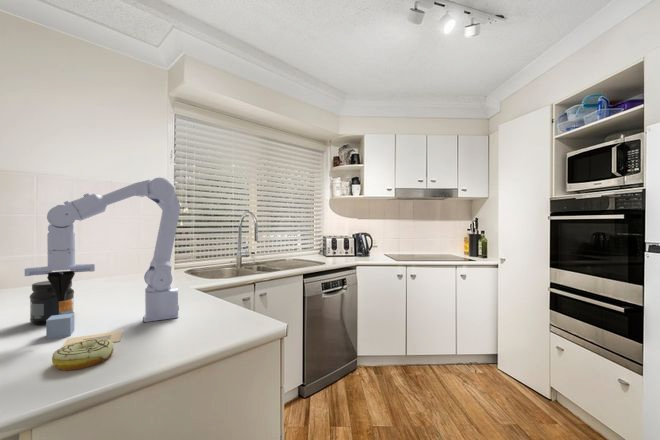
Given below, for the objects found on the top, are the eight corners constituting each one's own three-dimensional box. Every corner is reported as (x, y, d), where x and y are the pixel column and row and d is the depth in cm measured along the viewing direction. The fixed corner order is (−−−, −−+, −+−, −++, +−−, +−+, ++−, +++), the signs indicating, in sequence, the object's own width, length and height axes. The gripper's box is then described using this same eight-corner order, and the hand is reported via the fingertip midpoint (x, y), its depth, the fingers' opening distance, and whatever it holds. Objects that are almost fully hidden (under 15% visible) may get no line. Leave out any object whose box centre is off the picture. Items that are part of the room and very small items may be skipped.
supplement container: (82, 315, 105) (82, 279, 105) (51, 326, 95) (51, 285, 95) (53, 315, 106) (53, 279, 107) (19, 325, 96) (19, 285, 96)
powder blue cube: (74, 330, 91) (74, 313, 91) (70, 336, 87) (70, 317, 87) (51, 333, 89) (51, 315, 89) (46, 339, 84) (46, 320, 84)
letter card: (122, 331, 90) (122, 330, 90) (119, 341, 82) (119, 340, 82) (67, 339, 84) (67, 338, 84) (59, 351, 76) (59, 350, 76)
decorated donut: (119, 361, 71) (118, 344, 71) (55, 378, 63) (55, 359, 63) (108, 348, 78) (108, 332, 78) (49, 362, 70) (49, 345, 70)
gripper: (95, 247, 95) (96, 294, 94) (29, 250, 87) (30, 300, 87) (93, 249, 88) (93, 298, 88) (22, 252, 81) (22, 306, 81)
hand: (61, 300), depth 87 cm, fingers closed
